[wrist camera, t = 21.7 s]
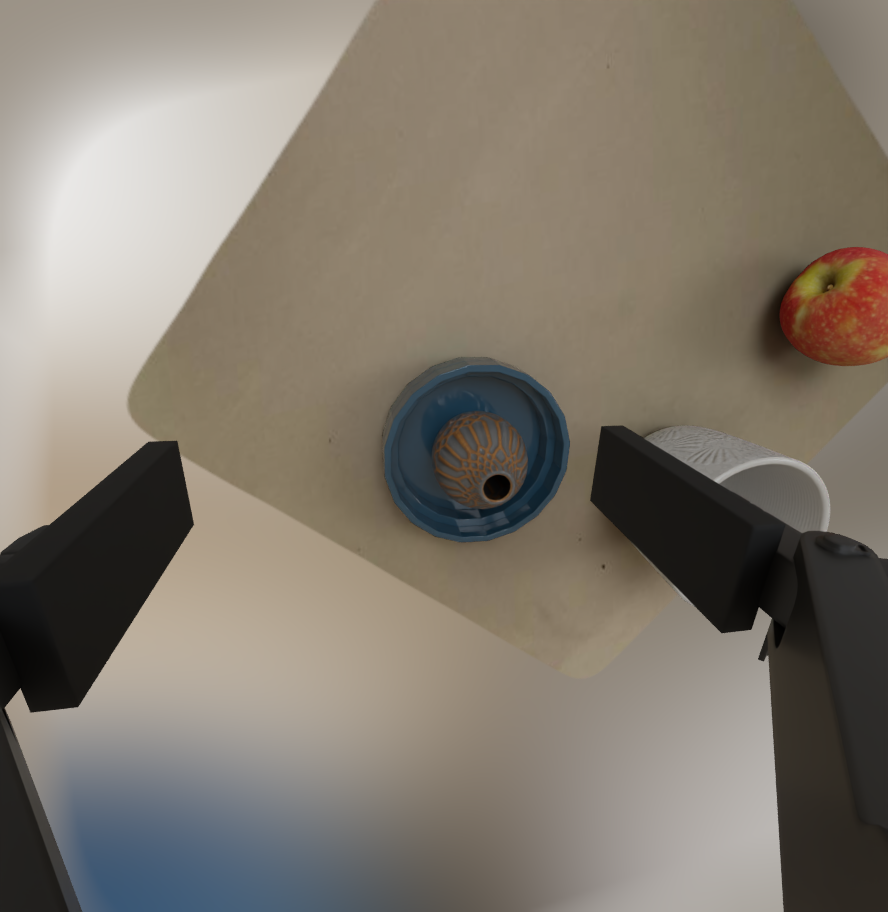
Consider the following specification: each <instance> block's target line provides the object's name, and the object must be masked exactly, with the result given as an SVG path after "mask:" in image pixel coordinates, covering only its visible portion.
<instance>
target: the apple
mask: <svg viewBox="0 0 888 912" xmlns="http://www.w3.org/2000/svg"><path fill="white" fill-rule="evenodd" d="M780 324H781V327H782V330H783V332H784V334H785V336H786V337H787V339H788V340H789V341H790V343H791V344H792V345H793V346H794V347H795V348H796V349H797V350H798V351H800V352H801V353H803V354H804V355H806V356H807V357H809V358H812V359H814V360H816V361H819V362H822V363H825V364H830V365H838V366H857V365H865V364H870V363H874V362H877V361H880V360H882V359H885V358H887V357H888V254H886V253H883V252H881V251H878V250H875V249H870V248H863V247H850V248H844V249H838V250H835V251H833V252H830V253H827V254H825V255H824V256H822V257H820V258H818V259H817V260H815V261H813V262H812V263H811V264H810V265H809V266H807V267H806V268H805V269H804V271H803V272H801V273H800V275H799V276H798V277H797V278H796V279H795V280H794V282H793V283H792V284H791V286H790V287H789V289H788V291H787V292H786V294H785V296H784V298H783V301H782V302H781V307H780Z"/></svg>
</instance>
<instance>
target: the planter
mask: <svg viewBox="0 0 888 912" xmlns="http://www.w3.org/2000/svg"><path fill="white" fill-rule="evenodd" d="M644 439H646V440H647V441H649V442H651V443H652V444H654V445H656V446H657V447H659V448H661V449H662V450H664V451H665V452H667V453H669V454H670V455H672V456H674V457H675V458H677V459H679V460H680V461H682V462H684V463H685V464H687V465H689V466H690V467H692V468H694V469H695V470H697V471H698V472H700V473H702V474H703V475H705V476H707V477H708V478H710V479H712V480H713V481H715V482H717V483H718V484H720V485H722V486H723V487H725V488H727V489H728V490H730V491H732V492H735V493H736V494H738V495H740V496H741V497H743V498H745V499H746V500H748V501H750V503H751V504H755V505H756V506H758V507H759V508H761V509H763V511H766V512H768V513H769V514H771V515H773V516H774V517H776V518H778V519H779V520H781V521H783V522H784V523H786V524H788V525H789V526H791V527H793V528H794V529H796V530H798V531H799V532H801V533H804V532H807V531H824V532H827V528H828V524H829V518H830V500H829V495H828V491H827V489H826V486H825V484H824V482H823V480H822V479H821V477H820V476H819V475H818V473H816V472H815V471H814V470H813V469H812V468H811V467H809V466H808V465H806V464H805V463H803V462H801V461H799V460H796V459H793V458H790V457H788V456H785V455H783V454H780V453H778V452H775V451H772V450H770V449H767V448H765V447H762V446H759V445H757V444H754V443H751V442H749V441H746V440H743V439H741V438H738V437H735V436H732V435H729V434H726V433H723V432H720V431H716V430H713V429H709V428H704V427H699V426H688V425H683V426H673V427H668V428H664V429H661V430H658V431H656V432H654V433H652V434H650V435H648V436H646V437H645V438H644ZM631 543H632V542H631ZM632 544H633V543H632ZM633 545H634V544H633ZM634 546H635V545H634ZM635 547H636V546H635ZM636 548H637V547H636ZM637 550H638V551H639V552H640V553H641V554H642V556H643V557H644V558H645V559H646V560H647V561H648V562H649V563H650V564H651V566H652V567H653V568H654V569H655V570H656V571H657V572H658V573H659V574H660V575H661V576H662V578H663V579H664V580H665V581H666V582H667V583H668V584H669V585H670V586H671V587H672V588H673V589H674V591H675V592H676V593H677V594H678V595H679V596H680V597H681V598H682V599H683V600H684V601H686V602H687V603H689V604H690V605H692V606H694V605H693V604H692V603H691V602H690V601H689V600H688V599H687V598H686V597H685V596H684V595H683V594H682V593H681V592H680V591H679V590H678V589H677V588H676V587H675V586H674V585H673V584H672V583H671V582H670V581H669V580H668V579H667V577H666V576H665V575H664V574H663V573H662V572H661V571H660V570H659V569H658V568H657V567H656V566H655V565H654V564H653V563H652V562H651V561H650V560H649V559H648V558H647V557H646V556H645V555H644V554H643V553H642V552H641V551H640V550H639V549H638V548H637ZM694 607H695V606H694Z"/></svg>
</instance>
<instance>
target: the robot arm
mask: <svg viewBox="0 0 888 912" xmlns="http://www.w3.org/2000/svg"><path fill="white" fill-rule="evenodd" d="M590 501H591V502H592V503H593V504H594V505H595V506H596V507H597V508H598V509H599V510H600V511H601V512H602V513H603V514H604V515H605V516H606V517H607V518H608V519H609V520H610V521H611V522H612V523H613V524H614V525H615V526H616V527H617V528H618V529H619V530H620V531H621V532H622V533H623V534H624V535H625V536H626V537H627V538H628V539H629V540H630V541H631V542H632V543H633V544H634V545H635V546H636V547H637V548H638V549H639V550H640V551H641V552H642V553H643V554H644V555H645V556H646V557H647V558H648V559H649V560H650V561H651V562H652V563H653V564H654V565H655V566H656V567H657V568H658V569H659V570H660V571H661V572H662V573H663V574H664V575H665V576H666V577H667V579H668V580H669V581H670V582H671V583H672V584H673V585H674V586H675V587H676V588H677V589H678V590H679V591H680V592H681V593H682V594H683V595H684V596H685V597H686V598H687V599H688V600H689V601H690V602H691V603H692V604H693V605H694V606H695V607H696V608H697V609H698V610H699V611H700V612H701V613H702V614H703V615H704V616H705V617H706V618H707V619H708V620H709V621H710V622H711V623H712V624H713V625H714V626H715V627H716V628H717V629H718V630H719V631H720V632H721V633H728V632H736V631H745V630H751V629H752V626H753V623H754V620H755V617H756V614H757V611H758V608H759V607H760V608H761V609H762V610H763V611H764V612H766V613H767V614H768V615H769V616H770V617H771V618H772V620H771V623H770V626H769V629H768V632H767V635H766V638H765V641H764V644H763V646H762V649H761V652H760V655H759V658H758V659H759V660H761V661H764V660H765V657H766V656H769V672H770V687H771V688H770V689H771V706H772V723H773V739H774V754H775V772H776V789H777V806H778V823H779V840H780V855H781V873H782V890H783V905H784V912H888V559H881V558H878V556H877V555H876V554H875V553H874V551H873V550H872V549H870V548H868V546H866V545H864V544H862V543H860V542H858V541H855V540H853V539H851V538H848V537H845V536H842V535H840V534H835V533H830V532H824V531H807V532H804V533H801V532H799V531H798V530H796V529H794V528H793V527H791V526H789V525H788V524H786V523H784V522H783V521H781V520H779V519H778V518H776V517H774V516H773V515H771V514H769V513H768V512H766V511H763V509H761V508H759V507H758V506H756V505H755V504H751V503H750V501H748V500H746V499H745V498H743V497H741V496H740V495H738V494H736V493H735V492H732V491H730V490H728V489H727V488H725V487H723V486H722V485H720V484H718V483H717V482H715V481H713V480H712V479H710V478H708V477H707V476H705V475H703V474H702V473H700V472H698V471H697V470H695V469H694V468H692V467H690V466H689V465H687V464H685V463H684V462H682V461H680V460H679V459H677V458H675V457H674V456H672V455H670V454H669V453H667V452H665V451H664V450H662V449H661V448H659V447H657V446H656V445H654V444H652V443H651V442H649V441H647V440H646V439H644V438H642V437H641V436H639V435H637V434H636V433H634V432H632V431H631V430H629V429H627V428H626V427H624V426H601V433H600V439H599V446H598V453H597V459H596V466H595V472H594V479H593V486H592V492H591V499H590ZM193 525H194V523H193V518H192V512H191V508H190V502H189V498H188V492H187V488H186V482H185V477H184V472H183V467H182V462H181V457H180V452H179V447H178V442H177V441H158V442H148V443H146V444H145V445H144V446H143V447H142V448H140V449H139V450H138V451H137V452H136V453H135V454H133V455H132V456H131V457H130V458H129V459H127V460H126V461H125V462H124V463H123V464H121V465H120V466H119V467H118V468H117V469H116V470H114V471H113V472H112V473H111V474H110V475H108V476H107V477H106V478H105V479H104V480H103V481H101V482H100V483H99V484H98V485H96V486H95V487H94V488H93V489H92V490H91V491H89V492H88V493H87V494H86V495H85V496H84V497H82V498H81V499H80V500H79V501H77V502H76V503H75V504H74V505H73V506H71V507H70V508H69V509H68V510H67V511H66V512H64V513H63V514H62V515H61V516H60V517H58V518H57V519H56V520H55V521H54V522H52V523H51V524H50V525H45V526H42V527H40V528H38V529H36V530H34V531H32V532H30V533H28V534H26V535H24V536H22V537H20V538H18V539H17V540H16V541H14V542H13V543H12V544H11V545H9V546H8V547H7V548H6V549H4V550H3V551H2V552H1V554H0V912H82V910H81V907H80V905H79V902H78V899H77V896H76V894H75V891H74V889H73V886H72V883H71V881H70V878H69V875H68V873H67V870H66V867H65V865H64V862H63V859H62V857H61V854H60V851H59V849H58V846H57V843H56V841H55V838H54V835H53V833H52V830H51V827H50V825H49V822H48V819H47V817H46V814H45V811H44V809H43V806H42V804H41V801H40V798H39V796H38V793H37V790H36V788H35V785H34V782H33V780H32V777H31V774H30V772H29V769H28V766H27V764H26V761H25V758H24V756H23V753H22V750H21V748H20V745H19V743H18V740H17V737H16V735H15V732H14V729H13V727H12V724H11V721H10V719H9V717H8V714H7V712H6V710H5V706H6V705H7V704H8V703H9V701H10V700H11V699H12V698H13V696H14V695H15V694H16V693H17V691H18V690H19V689H20V688H21V690H22V693H23V695H24V698H25V700H26V703H27V705H28V707H29V710H30V712H40V711H48V710H57V709H66V708H74V707H78V706H79V705H80V703H81V702H82V700H83V698H84V697H85V695H86V694H87V692H88V690H89V689H90V688H91V686H92V684H93V682H94V681H95V680H96V678H97V677H98V675H99V673H100V672H101V670H102V668H103V667H104V665H105V664H106V662H107V661H108V659H109V658H110V656H111V654H112V653H113V651H114V650H115V648H116V646H117V645H118V643H119V642H120V640H121V639H122V637H123V636H124V634H125V632H126V631H127V629H128V627H129V626H130V624H131V623H132V621H133V620H134V618H135V617H136V615H137V613H138V612H139V610H140V609H141V607H142V605H143V604H144V602H145V601H146V599H147V598H148V596H149V595H150V593H151V591H152V590H153V588H154V587H155V585H156V583H157V582H158V580H159V579H160V577H161V576H162V574H163V572H164V571H165V569H166V568H167V566H168V564H169V563H170V561H171V560H172V558H173V557H174V555H175V553H176V552H177V550H178V549H179V547H180V546H181V544H182V542H183V541H184V539H185V538H186V536H187V534H188V533H189V531H190V530H191V528H192V527H193Z"/></svg>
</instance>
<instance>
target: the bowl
mask: <svg viewBox="0 0 888 912" xmlns="http://www.w3.org/2000/svg"><path fill="white" fill-rule="evenodd" d="M470 411H485V412H490V413H493V414H496V415H498V416H500V417H502V418H503V419H505V420H506V421H508V422H509V423H510V424H511V425H512V426H513V427H514V428H515V429H516V430H517V432H518V433H519V434H520V436H521V438H522V440H523V442H524V444H525V447H526V451H527V457H528V468H527V474H526V478H525V480H524V483H523V485H522V487H521V488H520V490H519V491H518V492H517V493H516V495H515V496H514V497H512V498H511V499H510V500H509V501H507V502H506V503H504V504H502V505H500V506H497V507H494V508H489V509H475V508H470V507H467V506H464V505H462V504H460V503H458V502H456V501H455V500H453V499H452V498H451V497H450V496H448V495H447V494H446V493H445V491H444V490H443V489H442V488H441V486H440V485H439V483H438V481H437V479H436V477H435V474H434V470H433V466H432V448H433V444H434V441H435V438H436V436H437V434H438V433H439V431H440V430H441V428H442V427H443V426H444V425H445V424H446V423H447V422H448V421H449V420H450V419H452V418H453V417H455V416H457V415H459V414H462V413H465V412H470ZM382 443H383V466H384V475H385V479H386V482H387V484H388V487H389V490H390V492H391V495H392V497H393V500H394V502H395V504H396V505H397V506H398V507H399V508H400V510H401V511H402V512H403V513H404V514H405V515H406V517H407V518H408V519H409V520H410V521H411V522H412V523H413V524H415V525H416V526H418V527H420V528H421V529H423V530H425V531H427V532H428V533H430V534H432V535H433V536H435V537H440V538H444V539H448V540H453V541H457V542H476V541H489V540H492V539H495V538H498V537H500V536H503V535H506V534H509V533H512V532H514V531H516V530H518V529H519V528H520V527H522V526H523V525H525V524H526V523H528V522H529V521H531V520H532V519H534V518H535V517H537V516H538V515H539V513H540V512H541V511H542V510H543V509H544V508H545V506H546V505H547V504H548V503H549V502H550V501H551V499H552V498H553V497H554V496H555V494H556V492H557V490H558V488H559V485H560V483H561V481H562V479H563V477H564V475H565V472H566V470H567V463H568V455H569V447H570V440H569V435H568V430H567V425H566V420H565V416H564V414H563V412H562V411H561V409H560V407H559V406H558V404H557V402H556V401H555V399H554V397H553V396H552V394H551V393H550V392H549V391H548V390H547V389H546V388H544V387H543V386H542V385H541V384H539V383H538V382H537V381H536V380H534V379H533V378H532V377H531V376H529V375H528V374H526V373H525V372H523V371H521V370H520V369H518V368H516V367H514V366H512V365H509V364H506V363H503V362H501V361H498V360H495V359H492V358H488V357H461V358H456V359H453V360H450V361H447V362H444V363H441V364H438V365H435V366H432V367H430V368H429V369H428V370H426V371H425V372H424V373H422V374H421V375H419V376H418V377H417V378H415V379H414V380H413V381H411V382H410V383H409V384H408V385H407V386H406V387H405V389H404V390H403V391H402V393H401V394H400V395H399V397H398V398H397V400H396V401H395V402H394V404H393V405H392V406H391V409H390V412H389V415H388V418H387V421H386V424H385V427H384V430H383V435H382Z"/></svg>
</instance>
